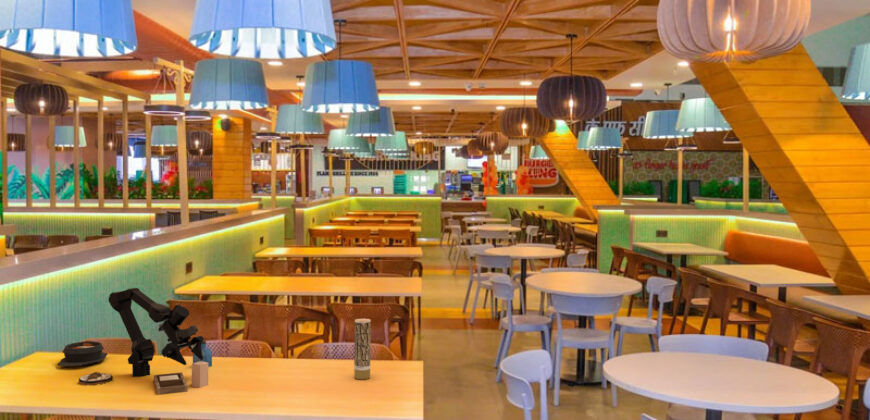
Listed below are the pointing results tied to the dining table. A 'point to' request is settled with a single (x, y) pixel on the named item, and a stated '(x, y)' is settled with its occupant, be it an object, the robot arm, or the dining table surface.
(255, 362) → the dining table surface
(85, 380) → the sushi roll
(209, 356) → the perfume bottle
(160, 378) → the napkin stack
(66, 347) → the casserole
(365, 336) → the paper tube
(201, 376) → the clay blank
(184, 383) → the rack
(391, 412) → the dining table surface
